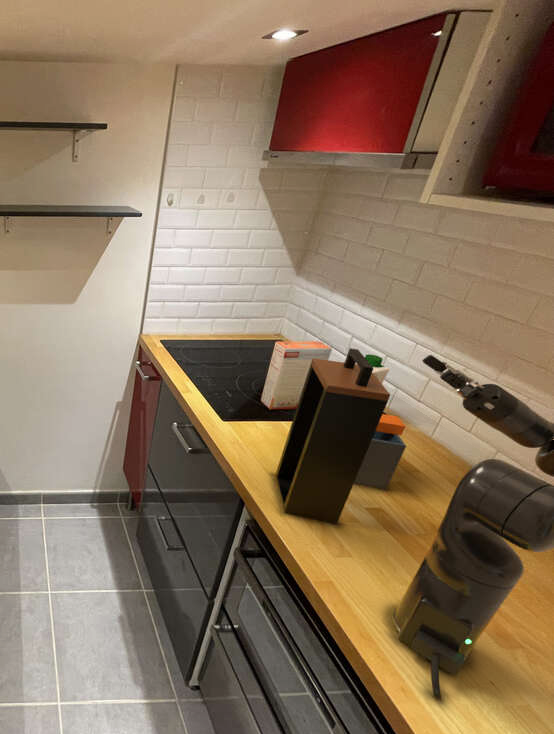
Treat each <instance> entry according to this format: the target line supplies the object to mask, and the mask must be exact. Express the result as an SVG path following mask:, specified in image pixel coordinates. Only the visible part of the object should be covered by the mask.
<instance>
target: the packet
mask: <svg viewBox="0 0 554 734" xmlns="http://www.w3.org/2000/svg"><path fill="white" fill-rule="evenodd" d="M405 428H406V425H405V424H404V422H403V421H402V420H401V419H400V417H399V416H397V415H390V414H384V413H383V414H382V416H381V419H380V421H379V424H378V426H377V429H376V431H378V432H384V433H390V434H396V435H399V436H402V435H403V433H404V431H405Z"/></svg>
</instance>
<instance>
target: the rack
mask: <svg viewBox="0 0 554 734" xmlns="http://www.w3.org/2000/svg"><path fill="white" fill-rule="evenodd" d="M355 363H357V364H355ZM372 371H373V367H372V366H371V364H370V363H369V362H368V361H367V360H366V358H365V356H364V355H363V354H362V353H361V351H360V350H359V349H358V348H349V349H348V351H347V354H346V357H345V360H344V361H335V360H329V359H328V360H322V359H314V358H313V359H312V362H311V365H310V368H309V371H308V374H307V377H306V381H305V384H304V387H303V390H302V393H301V396H300V399H299V402H298V406H297V409H295V412H294V415H293V418H292V421H291V424H290V428H289V432H288V434H287V436H286V437H287V438H286V441H285V444H284V447H283V449H282V452H281V456H280V459H279V462H278V465H277V469H276V471H275V475H274V477H275V481H276V485H277V489H278V493H279V496H280V501H281V505H282V509H283V512H284V513H285V514H288V515H292V516H293V515H294V516H298V517H300V518H301V517H302V518H307V519H310V520H315V521H318V522H323V523H327V524H332V525H338V522H339V521H340V517H341V515H342V513H343V511H344V508H345V505H346V503H347V501H348V498H349V495H350V494H351V491H352V489H353V486H354V484H355V483H354V481H355V479H356V477H357V474H358V472H359V469H360V467H361V465H362V462H363V460H364V457H365V455H366V453H367V450H368V448H369V445H370V443H371V441H372V438H373V436H374V433H375V431H376V429H377V426H378V424H379V421H380V419H381V416H382V414H384V411H385V409H386V406H387V404H388V402H389V400H390V397H391V393H390V392H389V391H388V390H387V388H386V387H385V386H384V385H383V383H382V384H381V383H380V381H379V380H378V379H377V378H376V376H375V375H374V374H373V373H372Z"/></svg>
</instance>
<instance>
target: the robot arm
mask: <svg viewBox="0 0 554 734" xmlns="http://www.w3.org/2000/svg"><path fill="white" fill-rule="evenodd" d="M422 363H423V364H424V365H425V366H427V367H428V368H430V369H432V370H433V371H434V372H435V373H436V374H438V375H439V378H440V379H441V380H442V381H443V382H445V383H446V384H448V385H449V386H450V387H452V388H453V390H454V391H455V392H456V393H457V394H458V395H459V396H460V397H462V407H463V408H464V409H465V410H466V411H467V412H469V414H471V415H472V416H474V417H476V418H477V419H479V420H480V421H482V422H483V423H484V424H486V425H487V426H489V427H490V428H492V429H494V430H496V431H498V432H500V433H501V434H503V435H505V437H507V438H509V439H510V440H511V441H513V442H514V443H516V444H518V445H520V446H522V447H524V448H528V449H537V448H539V449H538V451H537V453H536V455H535V457H534V463H535V465H536V467H537V468H538V470H539V471H541V472H542V473H543V474H545V475H548V476H550V477H553V478H554V440H553V439H554V422H552V421H549V420H547V419H546V418H545V417H543V416H541V415H540V414H539V413H537V412H536V411H534V410H533V409H532V408H531V407H529V406H528V404H526V403H525V402H523V400H520V399H519V398H518V397H516V396H515V395H513V394H512V393H511V392H509V391H508V390H506V389H504V388H503V387H502V386H500V385H498V384H495V383H484V384H480V383H479V381H477V380H475V379H474V378H473V377H469V376H468V375H466V374H465V373H463V372H462V371H461V370H459V369H455V368H453V367H452V366H451V365H450V364H448V363H447V362H445V361H441V360H440V359H438V358H437V357H435V356H434V355H432V354H429V355H427V356H426V357H424V358H423V359H422ZM508 542H509V543H511V544H512V545H514V546H516V547H519V548H520V549H522V550H525V551H527V552H532V553H542V552H547V551H551V550H553V549H554V484H552V483H550V482H547V481H545V480H543V479H541V478H540V477H537V476H536V475H533V474H532V473H529V472H527V471H526V470H523V469H521V468H519V467H517V466H515V465H513V464H511V463H508V462H506V461H504V460H501V459H497V458H488V459H483V460H481V461H480V462H477V463H476V464H474V465H473V466H471V468H470V469H469V470H468V471H467V472H465V474H464V475H463V477H462V478H461V479H460V481H459V483H458V484H457V486H456V488H455V490H454V492H453V494H452V497H451V499H450V501H449V505H448V506H447V509H446V512H445V513H444V514H443V518H442V520H441V521H440V523H439V525H438V528H437V531H436V536H435V538H434V540H433V542H432V544H431V546H430V547H429V549H428V551H427V553H426V555H425V556H424V558H423V560H422V562H421V564H420V565H419V567H418V569H417V571H416V572H415V574H414V576H413V578H412V580H411V581H410V583H409V585H408V587H407V589H406V591H405V592H404V594H403V596H402V598H401V600H400V602H399V604H398V606H397V607H396V608H395V610H394V611H393V613H392V617H391V619H392V620H391V621H392V624H393V626H394V628H395V630H396V632H397V633H398V636H397V639H398V640H399V641H401V642H402V643H404V644H406V645H407V646H408V647H410V649H411V650H413V651H415V652H416V653H417V654H419V655H421V656H422V657H424V658H426V659H427V660H429V661H431V663H430V679H431V687H432V695H433V697H434V698H437V699H441V698H442V693H441V685H440V668H441V669H443V670H444V671H446V672H448V673H450V674H451V675H453V676H455V677H456V676H457V675H458V673H459V672H460V670H461V669H462V667H463V666H464V662H465V661H466V659H467V658H468V656H469V653H470V652H471V651H472V649H473V648H474V646H475V645H476V643H477V642H478V640H479V638H480V637H481V635H482V634H483V633H484V632H485V630H486V628H487V627H488V626H489V624H490V622H491V621H492V620H493V618H494V617H495V615H496V614H497V613H498V611H499V610H500V608H501V607H502V605H503V604H504V602H505V601H506V600H507V598H508V597H509V596H510V594H511V592H512V591H513V590H514V588H515V587H516V585H517V584H518V582H519V581H520V579H521V578H522V576H523V575H524V572H525V566H524V562H523V561H522V559H521V557H520V555H519V554H518V553H517V551H516V550H514V549H513V547H511V545H510V544H509V543H508Z"/></svg>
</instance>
